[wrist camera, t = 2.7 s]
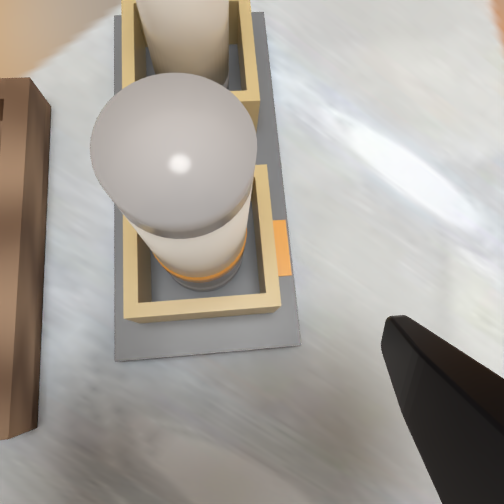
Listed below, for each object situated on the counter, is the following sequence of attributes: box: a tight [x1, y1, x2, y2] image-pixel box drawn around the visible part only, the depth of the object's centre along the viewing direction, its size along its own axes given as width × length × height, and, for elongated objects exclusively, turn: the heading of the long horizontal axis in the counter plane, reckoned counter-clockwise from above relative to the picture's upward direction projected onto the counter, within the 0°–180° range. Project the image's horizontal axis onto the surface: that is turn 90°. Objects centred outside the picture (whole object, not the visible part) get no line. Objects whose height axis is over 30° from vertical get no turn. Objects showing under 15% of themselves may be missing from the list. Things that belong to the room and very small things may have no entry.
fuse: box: [136, 0, 229, 90], centre depth 17 cm, size 4×4×11 cm
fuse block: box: [114, 0, 301, 362], centre depth 20 cm, size 20×9×4 cm, turn 5°
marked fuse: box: [90, 73, 257, 292], centre depth 15 cm, size 4×4×11 cm
